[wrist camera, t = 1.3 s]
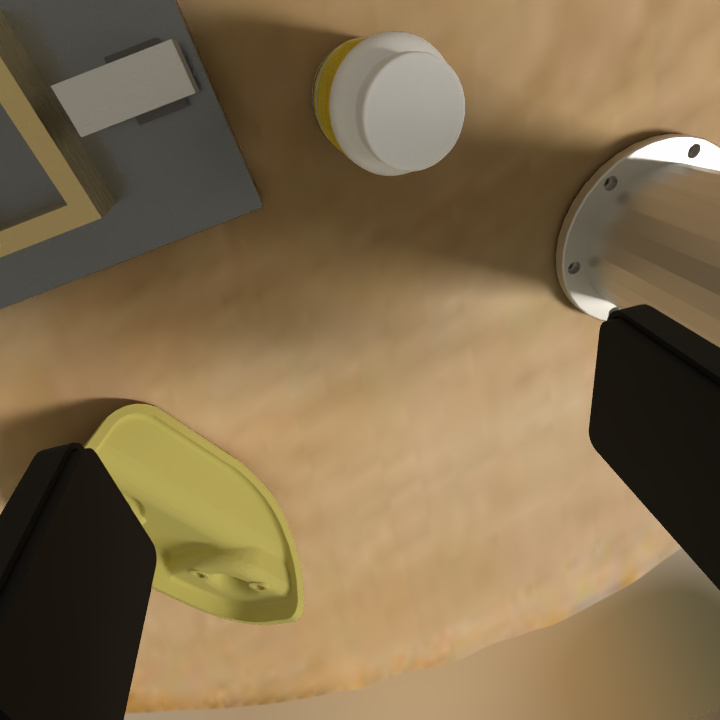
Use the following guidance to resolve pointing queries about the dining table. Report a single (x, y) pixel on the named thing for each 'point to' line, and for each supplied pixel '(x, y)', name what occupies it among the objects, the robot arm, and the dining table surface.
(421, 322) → the dining table surface
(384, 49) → the supplement bottle
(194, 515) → the plastic component
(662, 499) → the robot arm
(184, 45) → the stand
